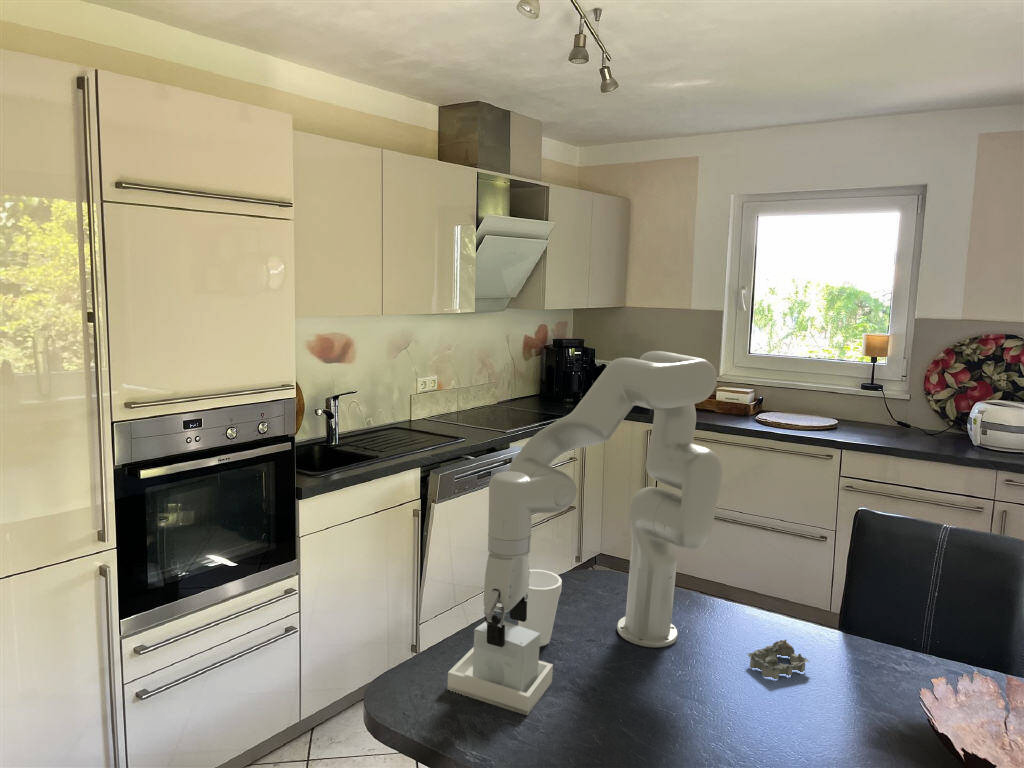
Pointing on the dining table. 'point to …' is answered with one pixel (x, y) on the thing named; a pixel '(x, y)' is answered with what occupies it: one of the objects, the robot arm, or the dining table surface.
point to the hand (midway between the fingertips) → (507, 631)
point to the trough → (498, 686)
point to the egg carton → (776, 660)
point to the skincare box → (507, 657)
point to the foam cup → (542, 603)
